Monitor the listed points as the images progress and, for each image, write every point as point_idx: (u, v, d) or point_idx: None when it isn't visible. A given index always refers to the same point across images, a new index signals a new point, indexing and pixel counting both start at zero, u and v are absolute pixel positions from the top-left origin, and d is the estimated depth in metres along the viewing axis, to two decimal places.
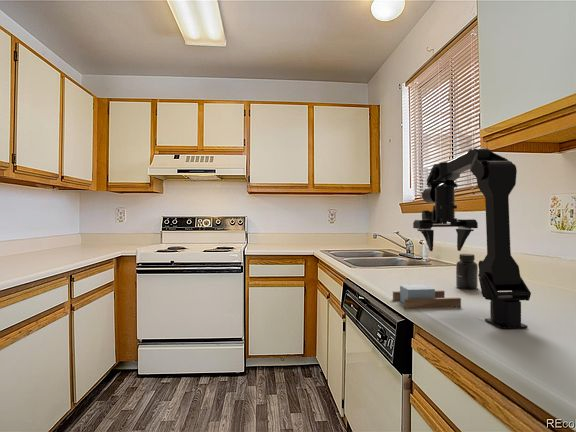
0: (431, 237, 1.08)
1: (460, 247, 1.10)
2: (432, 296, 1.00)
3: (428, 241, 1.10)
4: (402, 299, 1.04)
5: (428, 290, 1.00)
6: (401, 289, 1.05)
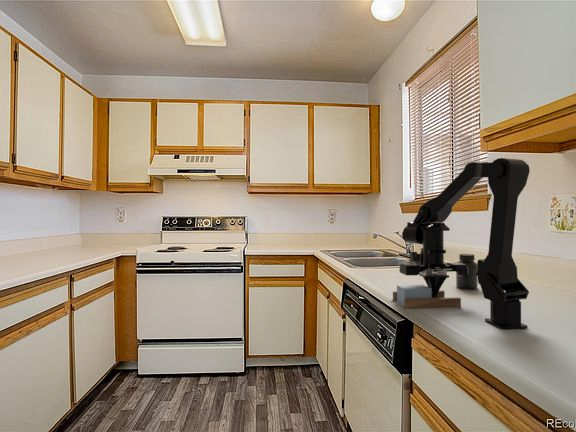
0: (433, 283, 1.01)
1: (435, 294, 1.03)
2: (429, 295, 1.00)
3: (430, 287, 1.02)
4: (399, 298, 1.04)
5: (425, 289, 1.00)
6: (398, 288, 1.05)
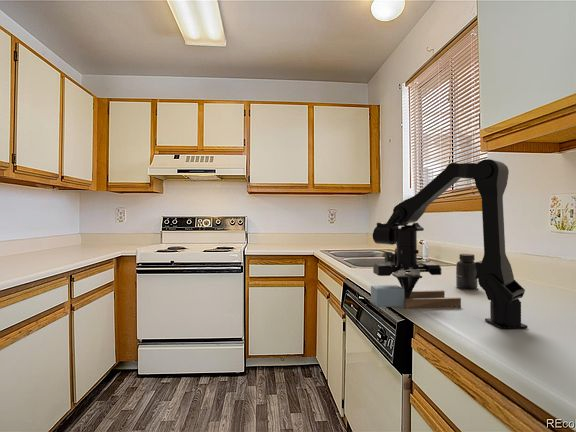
0: (406, 284, 1.01)
1: (408, 294, 1.02)
2: (401, 296, 1.00)
3: (403, 287, 1.02)
4: (373, 299, 1.03)
5: (397, 290, 1.00)
6: (372, 289, 1.04)
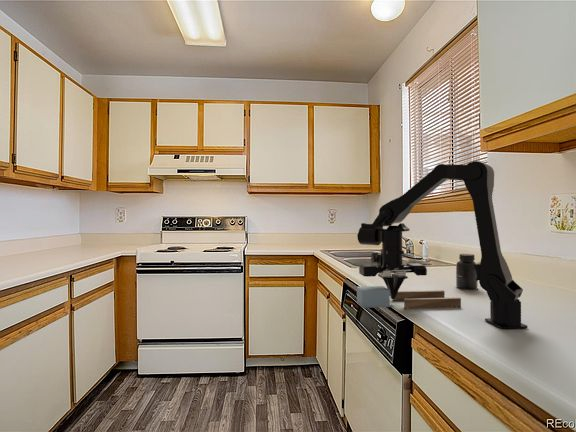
0: (391, 285, 1.00)
1: (394, 295, 1.02)
2: (387, 297, 0.99)
3: (389, 288, 1.02)
4: (358, 300, 1.03)
5: (383, 291, 0.99)
6: (358, 290, 1.04)
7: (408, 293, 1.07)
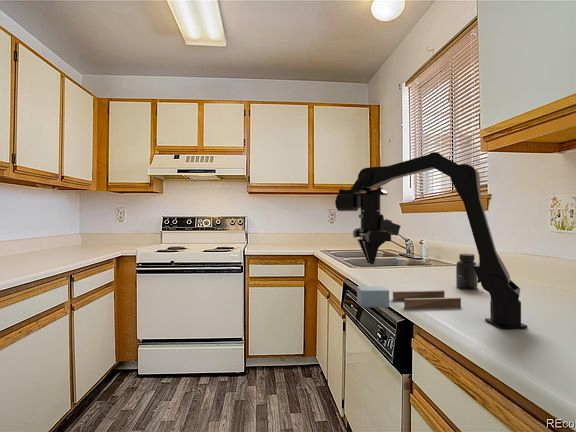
0: (361, 247, 1.04)
1: (369, 260, 1.01)
2: (386, 297, 0.99)
3: None
4: (358, 300, 1.03)
5: (382, 291, 0.99)
6: (358, 290, 1.04)
7: (408, 293, 1.07)
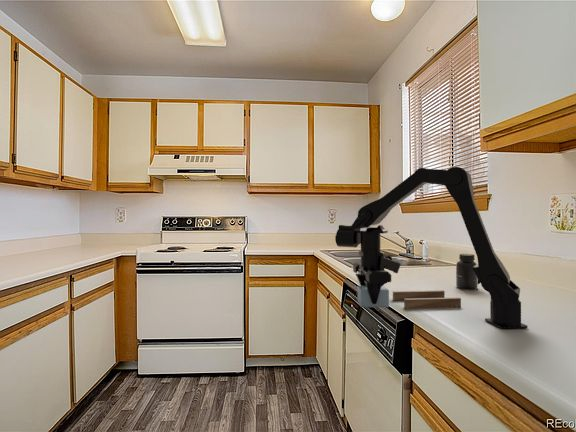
0: (359, 282, 1.06)
1: (371, 299, 0.99)
2: (386, 297, 0.99)
3: None
4: (358, 299, 1.03)
5: (382, 291, 0.99)
6: (358, 289, 1.04)
7: (408, 293, 1.07)
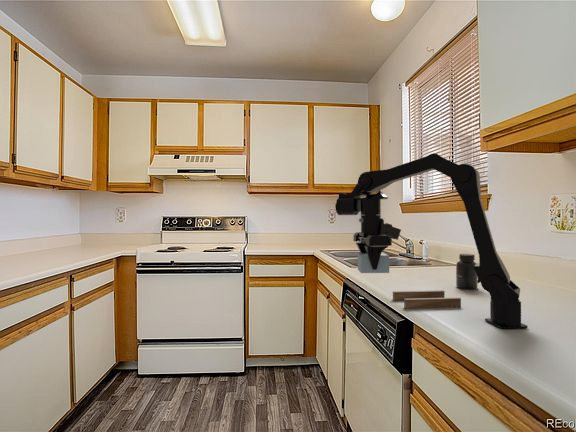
0: (360, 251, 1.06)
1: (371, 265, 0.99)
2: (386, 262, 0.99)
3: None
4: (358, 266, 1.03)
5: (382, 256, 0.99)
6: (358, 256, 1.04)
7: (408, 293, 1.07)
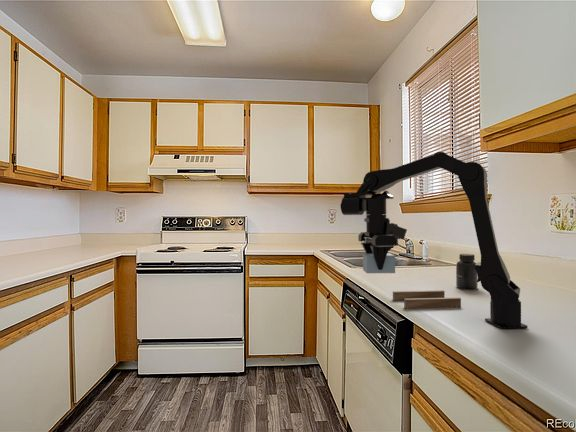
0: (365, 251, 1.05)
1: (377, 265, 0.98)
2: (392, 263, 0.98)
3: None
4: (364, 266, 1.02)
5: (388, 256, 0.98)
6: (363, 256, 1.03)
7: (408, 293, 1.07)
